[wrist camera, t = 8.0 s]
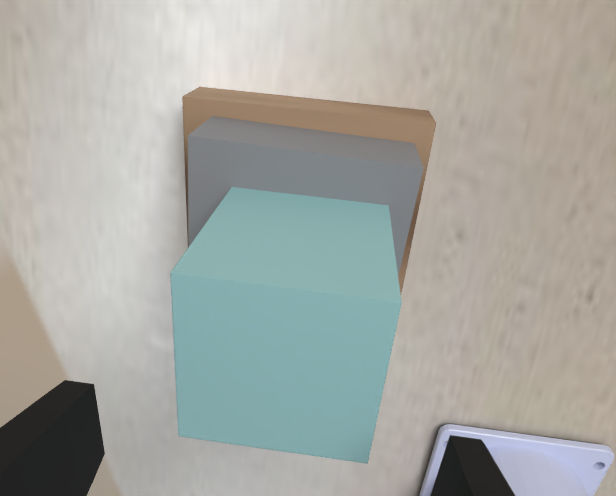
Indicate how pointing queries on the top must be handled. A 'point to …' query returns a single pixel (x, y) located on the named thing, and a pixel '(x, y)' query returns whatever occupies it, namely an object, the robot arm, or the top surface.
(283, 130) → the gray block
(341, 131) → the walnut block
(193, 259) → the teal block
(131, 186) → the top surface
